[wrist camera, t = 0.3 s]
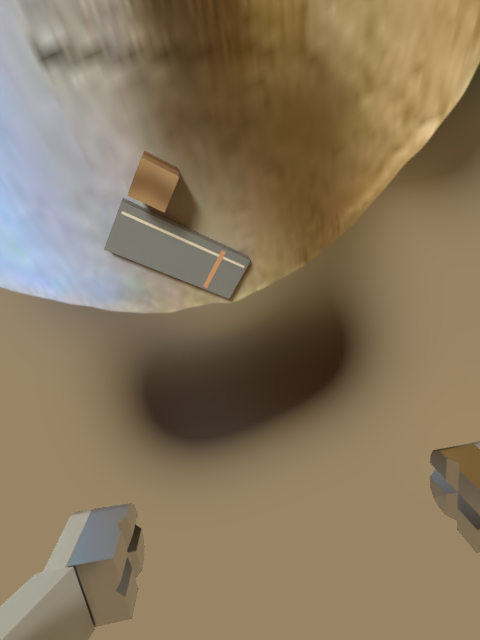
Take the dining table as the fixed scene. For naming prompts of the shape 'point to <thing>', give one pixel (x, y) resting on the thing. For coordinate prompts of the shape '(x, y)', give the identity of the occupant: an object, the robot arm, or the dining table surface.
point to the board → (175, 250)
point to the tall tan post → (154, 182)
